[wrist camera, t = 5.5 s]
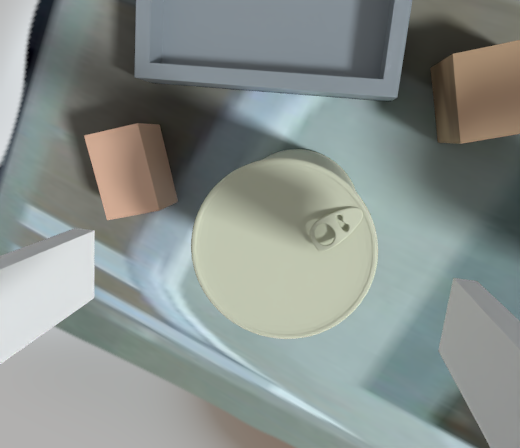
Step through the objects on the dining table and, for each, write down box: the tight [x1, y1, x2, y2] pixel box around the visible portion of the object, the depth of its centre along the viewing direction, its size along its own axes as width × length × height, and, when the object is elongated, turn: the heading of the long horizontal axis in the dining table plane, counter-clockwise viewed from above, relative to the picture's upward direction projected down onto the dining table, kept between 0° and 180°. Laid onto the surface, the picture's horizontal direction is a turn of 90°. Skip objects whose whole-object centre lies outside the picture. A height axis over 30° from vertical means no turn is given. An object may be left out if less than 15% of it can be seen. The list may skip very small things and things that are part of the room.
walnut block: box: [431, 40, 520, 144], centre depth 25 cm, size 5×5×5 cm
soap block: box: [84, 123, 178, 220], centre depth 30 cm, size 6×4×4 cm, turn 12°
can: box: [191, 149, 378, 339], centre depth 25 cm, size 9×9×12 cm
